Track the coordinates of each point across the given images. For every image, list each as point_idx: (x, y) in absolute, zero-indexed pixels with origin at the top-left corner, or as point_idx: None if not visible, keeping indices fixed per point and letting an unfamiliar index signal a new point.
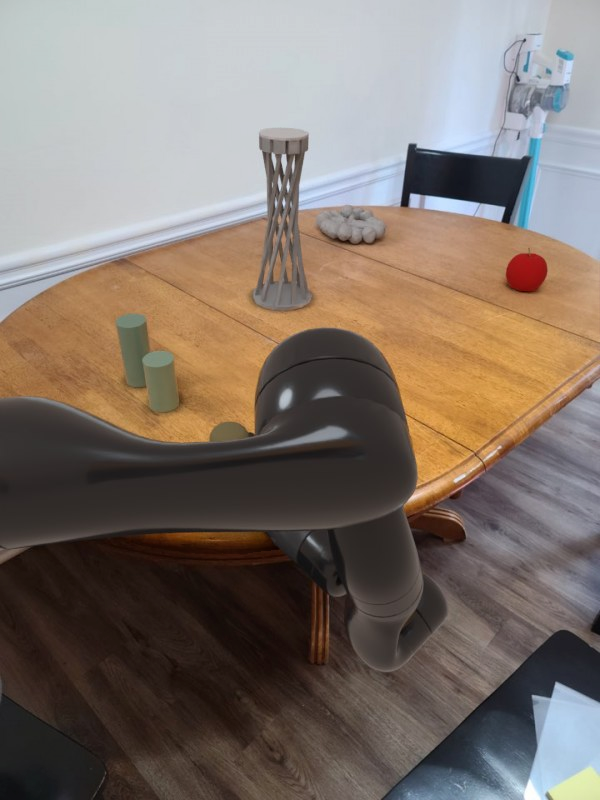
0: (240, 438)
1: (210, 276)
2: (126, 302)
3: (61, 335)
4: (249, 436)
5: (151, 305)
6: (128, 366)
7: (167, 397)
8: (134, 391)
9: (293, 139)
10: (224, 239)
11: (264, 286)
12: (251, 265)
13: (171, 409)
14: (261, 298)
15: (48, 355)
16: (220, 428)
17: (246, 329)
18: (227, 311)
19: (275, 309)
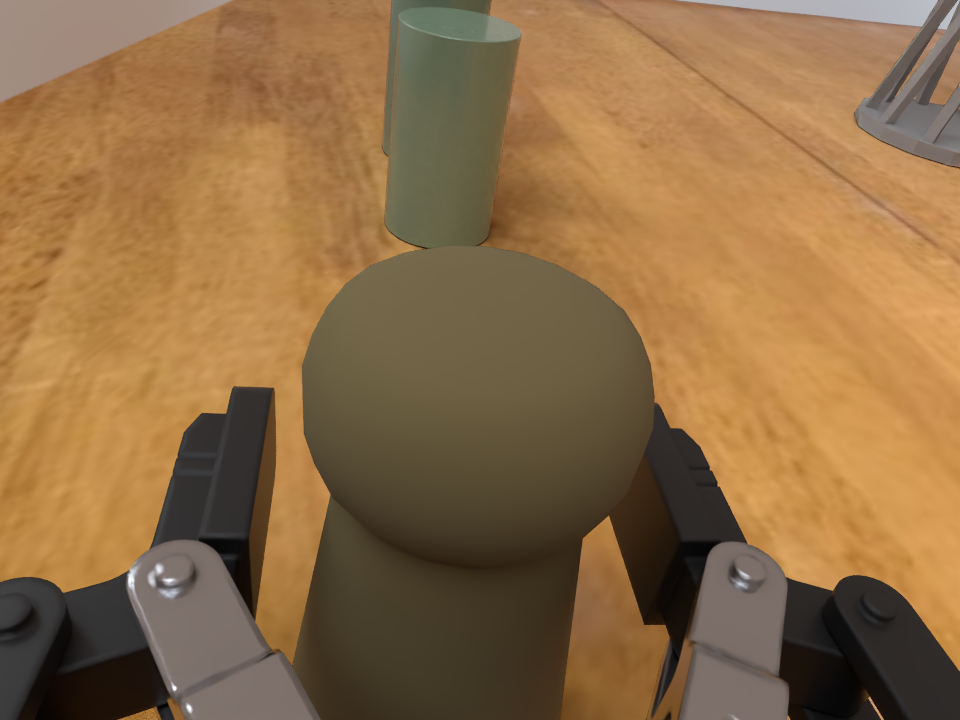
0: (548, 419)
1: (757, 57)
2: (531, 33)
3: (339, 29)
4: (660, 453)
5: (582, 52)
6: (393, 76)
7: (438, 189)
8: (382, 167)
9: None
10: (819, 25)
11: (912, 77)
12: (870, 71)
13: (441, 245)
14: (884, 112)
15: (270, 44)
16: (437, 266)
17: (809, 161)
18: (770, 115)
19: (917, 152)
